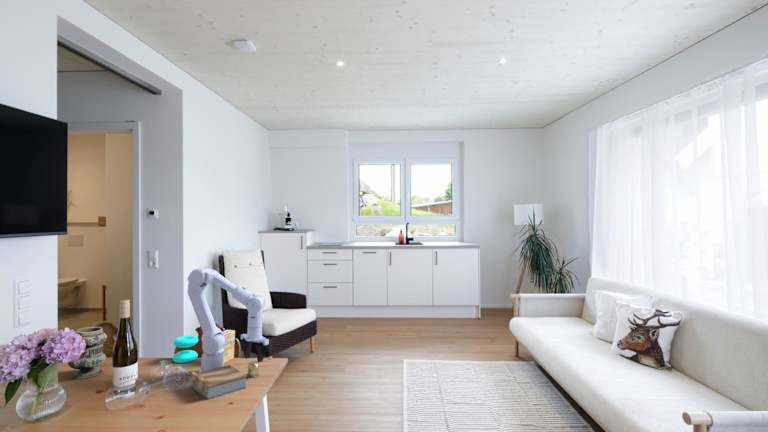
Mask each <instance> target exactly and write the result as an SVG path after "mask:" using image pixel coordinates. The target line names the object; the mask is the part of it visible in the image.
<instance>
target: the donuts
mask: <svg viewBox="0 0 768 432" xmlns="http://www.w3.org/2000/svg"><path fill="white" fill-rule="evenodd" d="M198 342H199V338H198V337H197V336H196V335H192V334H191V335H182V336H178V337H176V338H174V340H173V345H174V346H175V347H177V348H180V349H182V348H183V349H184V348H190V347H194V346H196V344H198ZM198 355H199V354H198V352H197V351H195V350H192V349H186V350H185V349H184V350H180V351H178V352H176V353H174V355H173V356H172V360H173V362H174V363H176V364H186V363H191V362H193V361H196V359H198Z"/></svg>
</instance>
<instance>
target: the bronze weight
mask: <svg viewBox="0 0 768 432" xmlns="http://www.w3.org/2000/svg"><path fill="white" fill-rule="evenodd" d="M246 375H247V377H246V378H250V379H253V378H257V377H259V376H260V362H258V361H249V362H248V363H247V374H246Z"/></svg>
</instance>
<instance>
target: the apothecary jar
mask: <svg viewBox="0 0 768 432" xmlns="http://www.w3.org/2000/svg"><path fill="white" fill-rule="evenodd" d="M76 332H77V333H78V334H80V335H81V336H82V337H83V339H84V340H85V341H86V349H85V352H84V353H83V354H82V356H81V357H80V358H79V359H78V360H76V361H73V362H68V361H67V365H68V367H70V368H72V369H74V370H77V371H75V372H73V373H72V374H71V375H70V378H71V379H73V380H83V379H84V380H85V379H89V378H94V377H96V376H98V375H100V374H102V372H103V370H102V369H100V368H97V367H98V366H101V365H103V363H105V361H106V359H107V356H106V354H105V353H104V352H103V350H104V343H105V342H106V341H107V339H108V335H107V334H106V333H105V332H104V330H103V327H101V326H89V327H87V326H86V327H82V328H78V329H77V330H76V331H75V333H76Z"/></svg>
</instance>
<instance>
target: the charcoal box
mask: <svg viewBox="0 0 768 432" xmlns="http://www.w3.org/2000/svg"><path fill="white" fill-rule="evenodd" d="M246 378H247V377H244V378H241V379H237V380H234V381H230V382H227V383H223V384H220V385H216V386H213V387H209V388H208V391H207V392H203V391H202V390H201V389H199V388H198V387H197V386H195V385H194V384H193V383H191V385H192V386H191V388H192V389H193V390H194V391H196V392H197V393H198V394H199V395H201V396H202V397H204V399H207V400H212V399H215V398H217V397H221V396H225V395H228V394H230V393H233V392H236V391H241V390H244V389H246V381H247V379H246Z"/></svg>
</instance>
